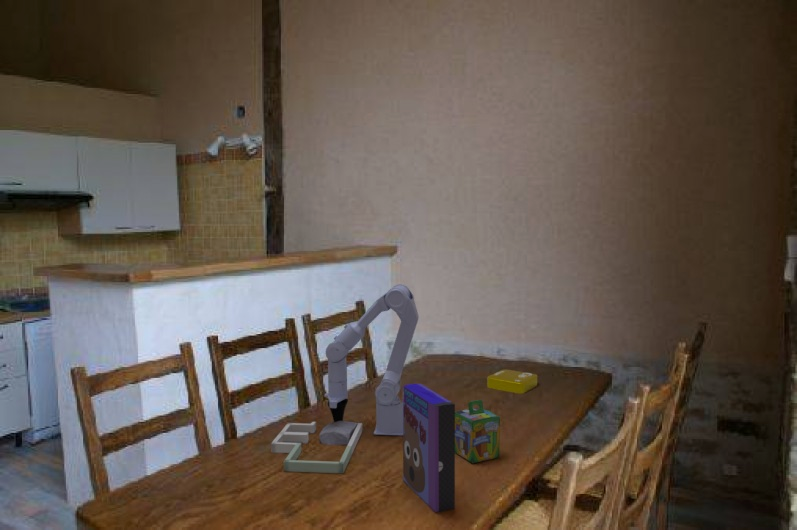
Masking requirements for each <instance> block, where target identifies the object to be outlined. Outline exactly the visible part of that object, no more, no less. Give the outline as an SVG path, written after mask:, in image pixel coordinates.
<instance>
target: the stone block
mask: <svg viewBox="0 0 797 530" xmlns="http://www.w3.org/2000/svg"><path fill="white" fill-rule="evenodd" d="M358 423H359V422H353V421H347V420H343V421H337V422H334V421H333V422H329V423H327V424H326V426H324V427H323V428H322V430H321V431H319V437H318V438H319V439H318V440H319V441H320V443H321V444H322V445H328V446H347V445H348V443H349V441H350V439H351V437H352V435H353V433H354V431H355V429H356V427H357V425H358Z"/></svg>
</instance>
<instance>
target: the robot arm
mask: <svg viewBox="0 0 797 530" xmlns="http://www.w3.org/2000/svg"><path fill="white" fill-rule="evenodd" d="M390 310H392V311H394V312H395V313H396V315H397V317H398V318H399V320H400V324H399V327H398V331H397V334H396V337H395V340H394V343H393V347H392V350H391V353H390V355H389V356H390V357H389V360H388V364H387V365H386V370H385V372H384V375H383V377H382V380H381V381H380V384H379V385H378V386H377V387H376V389H375V391H374V397H375V402H376V406H375V407H376V408H375V409H376V410H375V411H376V421H375V422H376V426H375V429H374V431H373V435H376V436H378V435H381V436H403V401H401V399H400V397H399V393H400V391H401V388H402V387H401V377H402V373H403V369H404V366H405V363H406V360H407V356H408V353H409V351H410V350H409V349H410V347H411V343H412V340H413V337H414V334H415V330H416V328H417V324H418V321H419V313H418V308H417V306H416V302H415V295H414V293H413V292H412V291H411V289H410V288H409V287H408V286H407V285H405V284H402V283H399V284H396V285H394V286H393V287H392V288H390V289H389V290H387V292H385V293H384V294H383V295H382V296H380V297H379V298H377V300H376V301H374V302H373V303H372V305H371V306H370V307H369V308H368V309H367V310H366V311H365V312H364V314H363V315H362V316H361V317H360V318H359V319H358V320H357V321H354V322H353V321H352V322H349V323H346V324H345V325H344V326H343V328H344V329H343V330H342V331H341V332H339V334H338V335H336V336H334V337H333V339H334V340H333V341H332V342H331V343H329V344H328V345H327V347H326V348H325V356H326V358H327V383H328V384H327V386H328V390H327V391H328V392H326V393H324V398H327V399H328V402H327V406H328V408H329V410H330V412H331V415H332V416H331V417H332V420H333V422H337V421H344V420H343V419H344V415H345V411H346V407H347V405H348V402H349V399H348V397H349V394H348V364H347V356H348V354H349V353H350V352H349V351H352V350H353V348H354V347H356V345H357V344H358V343H359V342H360V341H362V339H363V338H364V337H365V333H366V332H365V329H366V328H367V327H368V326H369V325H371V323H372V322H373V321H374V320H375V319H376V318H377V317H378V316H379V315H380V314H382V312H387V311H390Z"/></svg>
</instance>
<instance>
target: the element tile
mask: <svg viewBox="0 0 797 530" xmlns="http://www.w3.org/2000/svg"><path fill="white" fill-rule="evenodd" d="M486 381H487V382H486V387H487V388H488V389H494V390H499V391H503V392H508V393H512V394H513V393H514V394H525V393H527V392H529V391H530V390H532V389H534V388H536V387H537V386H538V375H537V374H535V373H530V372H523V371H517V370H513V369H512V370H511V369H500V370H499V371H496V372H494V373H493V374H490V375H488V376H487V377H486Z"/></svg>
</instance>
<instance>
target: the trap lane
mask: <svg viewBox="0 0 797 530" xmlns="http://www.w3.org/2000/svg"><path fill="white" fill-rule="evenodd" d="M357 423H358V425H357V427H356V429H355V431H354V433H353V435H352V437H351V439H350V441H349V443H348V445H346V448H345V450H344V452H343V453H342V455H341V457H340V460H339V461H327V460H326V461H325V460H304V459H303V460H299V459H298V458H299V456H300V455H301V453H302V445H303V444H304V445H305V444H306V445H307V444H308V443H309V440H310V439H309V438H310V437H309V435H310V434H315V432H316V431H317V421H312V422H311V423H298V422H296V423H294V422H287V423H286V424H285V426H284V427H283V428H282V430H281V431H280V432H279V433H278V434H277V436H276V437H275V438H274V439H273V440H272V441H271V443H270V453H274V454H287V456H286V458H285V459H284V460H283V472H289V473H290V472H291V473H292V472H293V473H294V472H295V473H321V474H345V471H346V469H347V466H348V464H349V462H350V460H351V457H352V455H353V453H354V451H355V448H356V446H357V444H358V442H359V439H360V438H361V436H362V433H363V423H362V422H357ZM297 459H298V460H297Z"/></svg>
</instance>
